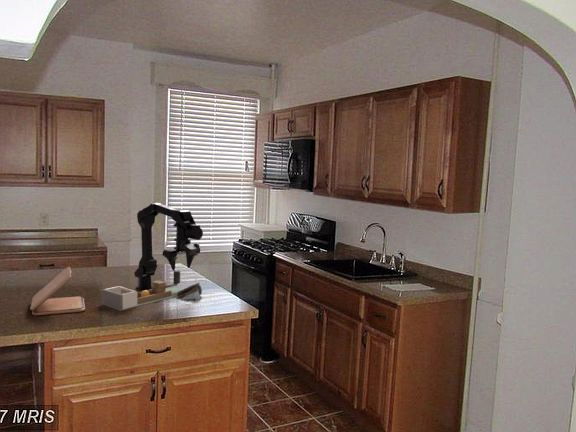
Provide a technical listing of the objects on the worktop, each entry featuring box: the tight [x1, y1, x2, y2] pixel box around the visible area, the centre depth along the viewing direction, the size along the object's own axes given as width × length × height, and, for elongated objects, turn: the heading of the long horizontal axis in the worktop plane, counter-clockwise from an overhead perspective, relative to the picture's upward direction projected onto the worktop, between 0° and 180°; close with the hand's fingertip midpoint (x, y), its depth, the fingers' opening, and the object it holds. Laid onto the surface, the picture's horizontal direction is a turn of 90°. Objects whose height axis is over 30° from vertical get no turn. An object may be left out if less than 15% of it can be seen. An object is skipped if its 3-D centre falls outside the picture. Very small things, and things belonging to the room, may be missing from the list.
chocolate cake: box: [176, 282, 203, 301], centre depth 235 cm, size 10×7×12 cm
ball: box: [140, 289, 150, 297], centre depth 230 cm, size 4×4×4 cm
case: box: [29, 266, 86, 316], centre depth 212 cm, size 20×21×16 cm
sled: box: [151, 270, 181, 294], centre depth 240 cm, size 5×15×10 cm, turn 144°
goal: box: [101, 285, 138, 311], centre depth 219 cm, size 13×9×6 cm
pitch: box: [102, 286, 181, 312], centre depth 232 cm, size 13×40×3 cm, turn 144°
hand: (181, 269), depth 234 cm, fingers open, 9 cm apart
